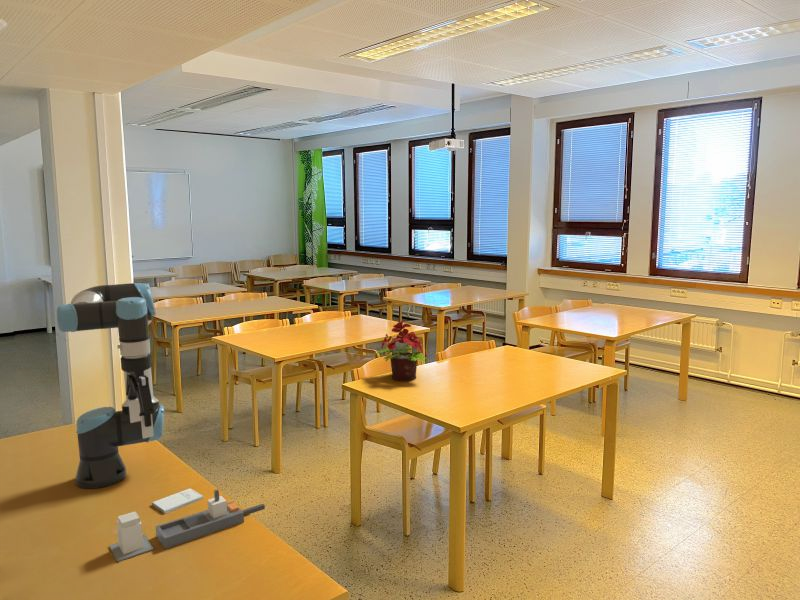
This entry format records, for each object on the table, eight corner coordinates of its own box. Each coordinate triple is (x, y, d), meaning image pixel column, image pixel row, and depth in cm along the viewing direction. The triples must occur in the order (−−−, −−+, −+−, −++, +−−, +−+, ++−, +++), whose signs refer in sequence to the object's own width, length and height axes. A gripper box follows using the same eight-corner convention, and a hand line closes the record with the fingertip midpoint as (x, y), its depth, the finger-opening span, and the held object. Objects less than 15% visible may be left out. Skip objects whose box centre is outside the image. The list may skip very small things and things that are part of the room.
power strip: (165, 549, 161) (162, 513, 159) (156, 536, 167) (153, 502, 166) (269, 513, 179) (268, 481, 177) (258, 503, 185) (256, 472, 184)
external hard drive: (152, 506, 185) (189, 492, 194) (164, 515, 180) (203, 500, 189) (151, 501, 185) (189, 487, 194) (164, 510, 179) (202, 495, 188)
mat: (109, 546, 162) (109, 545, 162) (144, 535, 168) (144, 534, 168) (117, 562, 155) (117, 560, 155) (153, 549, 161) (153, 548, 161)
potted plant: (429, 371, 327) (428, 316, 323) (426, 386, 301) (425, 327, 296) (374, 371, 330) (373, 316, 325) (367, 385, 304) (366, 326, 299)
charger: (118, 546, 162) (116, 516, 161) (138, 539, 165) (136, 510, 164) (123, 554, 158) (120, 524, 157) (144, 547, 161) (141, 517, 160)
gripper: (110, 347, 172) (117, 418, 176) (131, 368, 152) (138, 447, 156) (138, 343, 177) (144, 412, 180) (162, 362, 157) (168, 440, 161)
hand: (141, 429), depth 168 cm, fingers open, 13 cm apart
